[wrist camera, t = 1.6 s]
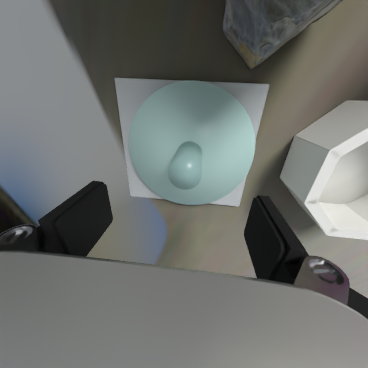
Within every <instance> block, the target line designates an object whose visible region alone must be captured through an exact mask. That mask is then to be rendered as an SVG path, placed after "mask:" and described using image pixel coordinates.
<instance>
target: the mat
mask: <svg viewBox="0 0 368 368" xmlns="http://www.w3.org/2000/svg"><path fill="white" fill-rule="evenodd" d="M114 79H115V86H116V93H117V101H118V108H119V115H120V123H121V130H122V138H123V145H124V152H125V160H126V167H127V174H128V181H129V189H130V196H135V197H145V198H156V199H165V198H163V197H161V196H159V195H158V194H156V193H155V192H153V191H152V190H151V189H150V188H149V187H148V186H147V185H146V184H145V183H144V182H143V181H142V179H141V178H140V177H139V175H138V173H137V172H136V170H135V168H134V165H133V163H132V160H131V156H130V151H129V133H130V129H131V124H132V122H133V119H134V117H135V115H136V113H137V111H138V109H139V108H140V106H141V105H142V104H143V102H144V101H145V100H146V99H147V98H148V97H149V96H150V95H152V94H153V93H154V92H156V91H157V90H159V89H161V88H162V87H164V86H167V85H169V84H172V83H175V82H180V80H156V79H132V78H114ZM203 82H204V81H203ZM207 83H211V84H214V85H216V86H218V87H221V88H223V89H224V90H226V91H227V92H229V93H230V94H232V95H233V96H234V97H235V98H236V99H237V100H238V101H239V102H240V103H241V105H242V106H243V107H244V108H245V110H246V112H247V114H248V115H249V117H250V120H251V122H252V125H253V129H254V134H255V140H256V136H257V132H258V128H259V124H260V120H261V116H262V112H263V108H264V104H265V100H266V96H267V92H268V88H269V84H253V83H228V82H207ZM246 176H247V175H246ZM246 176H245V178H244V179H243V181H242V182H241V183H240V184H239V185H238V186H237V187H236V188H235V189H234V190H233V191H232V192H230V193H229V194H228V195H226V196H224V197H223V198H221V199H218V200H216V201H214V202H210V203H209V204H219V205H230V206H239V204H240V200H241V196H242V192H243V188H244V184H245V180H246ZM166 200H167V199H166Z"/></svg>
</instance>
